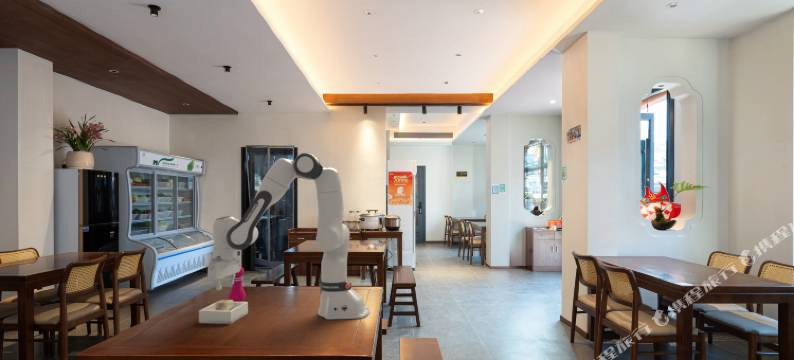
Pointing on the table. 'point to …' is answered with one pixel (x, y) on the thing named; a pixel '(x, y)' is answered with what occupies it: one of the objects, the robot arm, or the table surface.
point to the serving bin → (223, 313)
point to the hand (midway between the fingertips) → (225, 287)
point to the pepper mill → (237, 288)
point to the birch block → (224, 305)
